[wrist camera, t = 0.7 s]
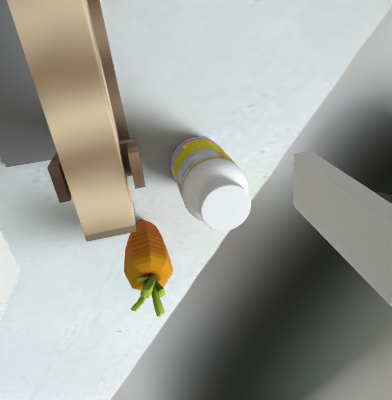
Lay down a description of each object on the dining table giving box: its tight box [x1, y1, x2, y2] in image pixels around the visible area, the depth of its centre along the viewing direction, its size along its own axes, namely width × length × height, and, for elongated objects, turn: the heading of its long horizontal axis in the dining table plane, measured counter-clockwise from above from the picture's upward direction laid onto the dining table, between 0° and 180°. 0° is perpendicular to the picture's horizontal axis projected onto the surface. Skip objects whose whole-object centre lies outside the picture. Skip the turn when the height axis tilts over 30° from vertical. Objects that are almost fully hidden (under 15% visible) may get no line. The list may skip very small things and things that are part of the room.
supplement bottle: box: [171, 137, 251, 231], centre depth 34 cm, size 7×7×13 cm
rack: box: [48, 0, 145, 203], centre depth 27 cm, size 23×7×12 cm, turn 7°
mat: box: [0, 0, 57, 167], centre depth 31 cm, size 19×6×1 cm, turn 7°
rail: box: [7, 0, 136, 241], centre depth 22 cm, size 25×4×4 cm, turn 7°
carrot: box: [124, 220, 173, 317], centre depth 35 cm, size 5×5×15 cm
